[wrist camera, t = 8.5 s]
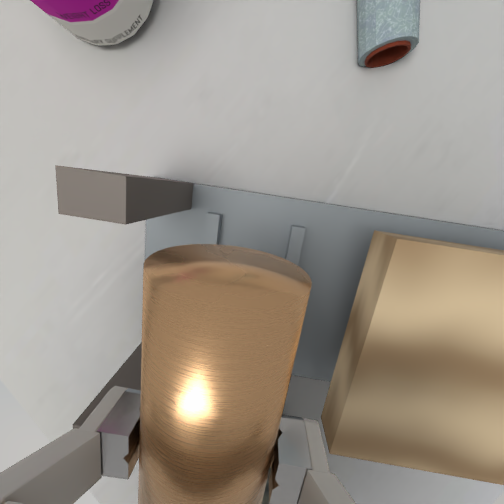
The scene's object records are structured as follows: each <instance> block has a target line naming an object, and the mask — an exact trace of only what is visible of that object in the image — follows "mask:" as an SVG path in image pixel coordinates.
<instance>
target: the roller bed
mask: <svg viewBox="0 0 504 504" xmlns="http://www.w3.org/2000/svg"><path fill="white" fill-rule="evenodd" d="M55 166H56V165H55ZM56 181H57V196H58V211H59V214H64V215H70V216H76V217H83V218H89V219H95V220H102V221H108V222H114V223H121V224H129V223H134V222H138V221H142V220H146V234H145V260H146V259H147V258H148V257H149V256H150V255H151V254H153V253H155V252H157V251H159V250H162V249H165V248H169V247H174V246H180V245H190V244H219V245H230V246H238V247H244V248H250V249H254V250H259V251H263V252H266V253H270V254H273V255H276V256H279V257H281V258H284V259H286V260H288V261H290V262H292V263H294V264H296V265H297V266H299V267H300V268H302V269H303V270H304V271H305V272H306V273H307V274H308V275H309V277H310V278H311V281H312V286H311V290H310V295H309V299H308V303H307V308H306V312H305V316H304V321H303V325H302V330H301V334H300V338H299V343H298V347H297V351H296V356H295V360H294V365H293V369H292V373H291V375H295V376H300V377H306V378H312V379H318V380H324V381H329V382H331V380H332V376H333V373H334V369H335V366H336V362H337V359H338V355H339V352H340V348H341V345H342V341H343V338H344V334H345V331H346V327H347V324H348V320H349V317H350V313H351V310H352V306H353V303H354V299H355V296H356V292H357V289H358V285H359V282H360V278H361V275H362V271H363V268H364V264H365V261H366V257H367V254H368V250H369V247H370V243H371V240H372V236H373V233H374V230H376V231H382V232H389V233H395V234H402V235H408V236H415V237H421V238H427V239H434V240H440V241H447V242H453V243H460V244H466V245H473V246H479V247H486V248H492V249H498V250H504V231H502V230H495V229H489V228H482V227H476V226H469V225H463V224H456V223H450V222H443V221H437V220H430V219H424V218H417V217H410V216H404V215H397V214H391V213H384V212H378V211H371V210H365V209H358V208H352V207H345V206H339V205H332V204H325V203H319V202H312V201H306V200H299V199H293V198H286V197H280V196H273V195H267V194H260V193H254V192H247V191H240V190H234V189H227V188H221V187H214V186H208V185H201V184H195V183H188V182H182V181H175V180H169V179H162V178H155V177H148V176H147V177H146V176H138V175H129V174H121V173H113V172H105V171H97V170H89V169H81V168H72V167H64V166H56ZM141 358H142V342H141V344H140V345H139V346H138V347H137V348H136V350H135V351H134V352H133V353H132V354H131V356H130V357H129V358H128V359H127V360H126V362H125V363H124V364H123V365H122V366H121V368H120V369H119V370H118V371H117V372H116V374H115V375H114V376H113V377H112V378H111V380H110V381H109V382H108V383H107V384H106V386H105V387H104V388H103V389H102V390H101V392H100V393H99V394H98V395H97V396H96V398H95V399H94V400H93V401H92V402H91V403H90V405H89V406H88V407H87V408H86V409H85V411H84V412H83V413H82V414H81V415H80V417H79V418H78V419H77V420H76V421H75V423H74V424H73V429H74V428H76V429H79V428H80V427H81V426H82V424H83V423H84V422H85V421H86V419H87V418H88V417H89V415H90V414H91V413H92V412H93V410H94V409H95V408H96V407H97V405H98V404H99V403H100V402H101V400H102V399H103V398H104V396H105V395H106V394H107V393H108V391H109V390H110V389H111V388H113V387H114V386H119V387H124V388H130V389H135V390H140V391H141Z"/></svg>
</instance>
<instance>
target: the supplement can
mask: <svg viewBox="0 0 504 504" xmlns="http://www.w3.org/2000/svg"><path fill="white" fill-rule="evenodd" d="M31 1H32V2H33V3H34V4H36V5H37V6H38V7H39V8H41V9H42V10H43V11H44V12H46V13H47V14H48V15H49V16H51V17H52V18H53V19H54V20H56V21H57V22H58V23H59V24H60V25H62V26H63V27H64V28H65V29H67V30H68V31H69V32H70V33H72V34H73V35H74V36H75V37H77V38H78V39H80V40H83V41H86V42H89V43H91V44H94V45H97V46H101V45H115V44H118V43H120V42H122V41H124V40H126V39H127V38H129V37H131V36H133V35H134V34H135V33H136V32H137V31H138V29H139V28H140V27H141V25H142V24H143V23H144V22H145V20H146V19H147V18H148V15H149V12H150V9H151V6H152V3H153V0H31Z"/></svg>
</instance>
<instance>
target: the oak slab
mask: <svg viewBox="0 0 504 504" xmlns="http://www.w3.org/2000/svg"><path fill="white" fill-rule="evenodd" d="M321 419H322V424H323V428H324V432H325V436H326V440H327V445H328V449H329V453H330V454H335V455H340V456H346V457H351V458H357V459H362V460H368V461H373V462H379V463H384V464H390V465H396V466H401V467H407V468H412V469H418V470H423V471H429V472H434V473H440V474H446V475H451V476H457V477H462V478H468V479H473V480H479V481H484V482H490V483H495V484H501V485H504V250H498V249H492V248H486V247H479V246H473V245H466V244H460V243H453V242H447V241H440V240H434V239H427V238H421V237H415V236H408V235H402V234H395V233H389V232H382V231H376V230H374V233H373V236H372V240H371V243H370V247H369V250H368V254H367V257H366V261H365V264H364V268H363V271H362V275H361V278H360V282H359V285H358V289H357V292H356V296H355V299H354V303H353V306H352V310H351V313H350V317H349V320H348V324H347V327H346V331H345V334H344V338H343V341H342V345H341V348H340V352H339V355H338V359H337V362H336V366H335V369H334V373H333V376H332V380H331V383H330V387H329V390H328V394H327V397H326V401H325V404H324V408H323V411H322V415H321Z"/></svg>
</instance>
